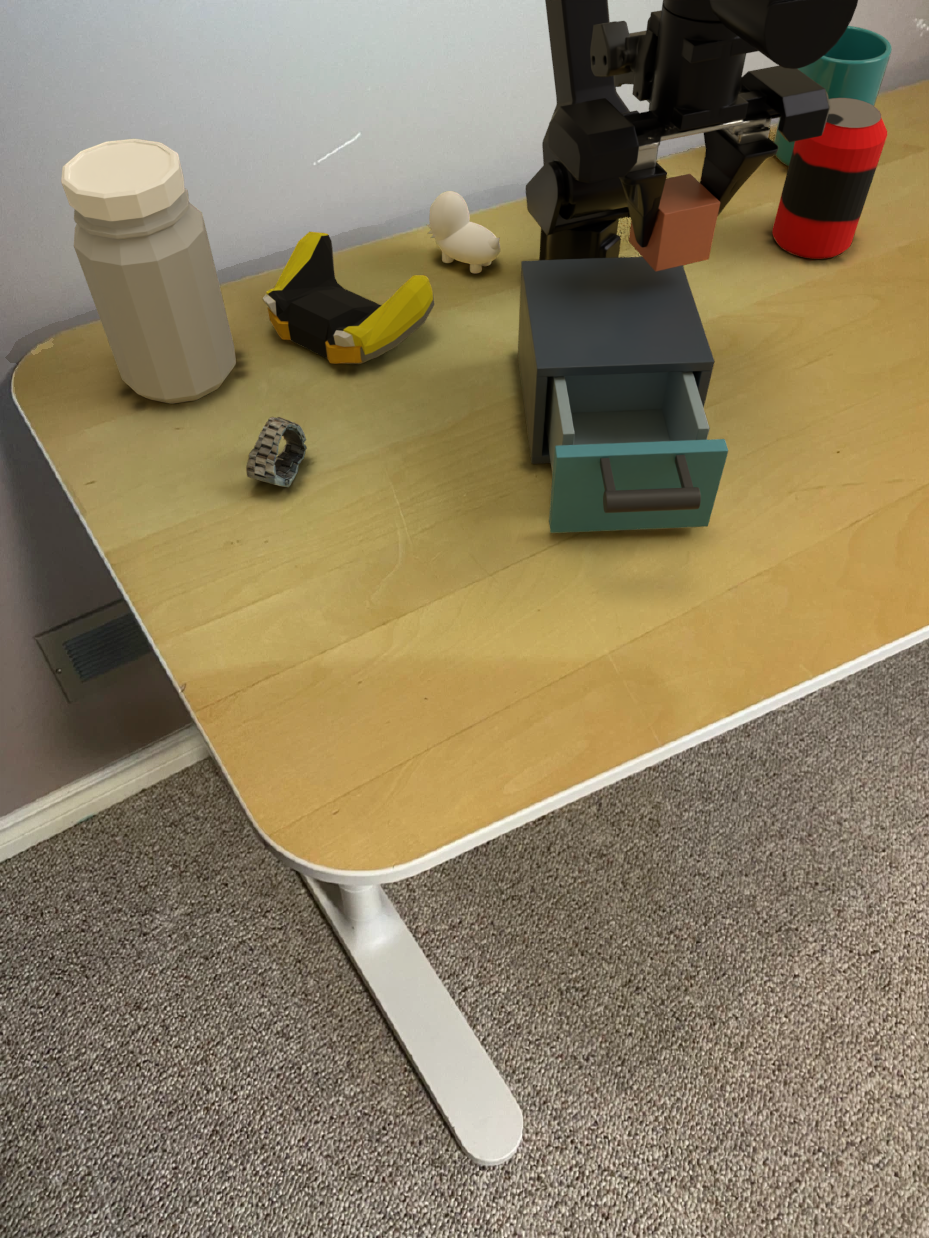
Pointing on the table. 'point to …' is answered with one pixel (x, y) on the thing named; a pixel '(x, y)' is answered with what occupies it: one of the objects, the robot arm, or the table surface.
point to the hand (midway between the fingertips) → (670, 238)
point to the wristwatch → (266, 450)
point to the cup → (846, 73)
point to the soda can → (830, 181)
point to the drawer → (630, 452)
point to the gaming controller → (341, 308)
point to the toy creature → (461, 233)
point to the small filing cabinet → (603, 328)
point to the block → (681, 225)
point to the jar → (149, 269)
